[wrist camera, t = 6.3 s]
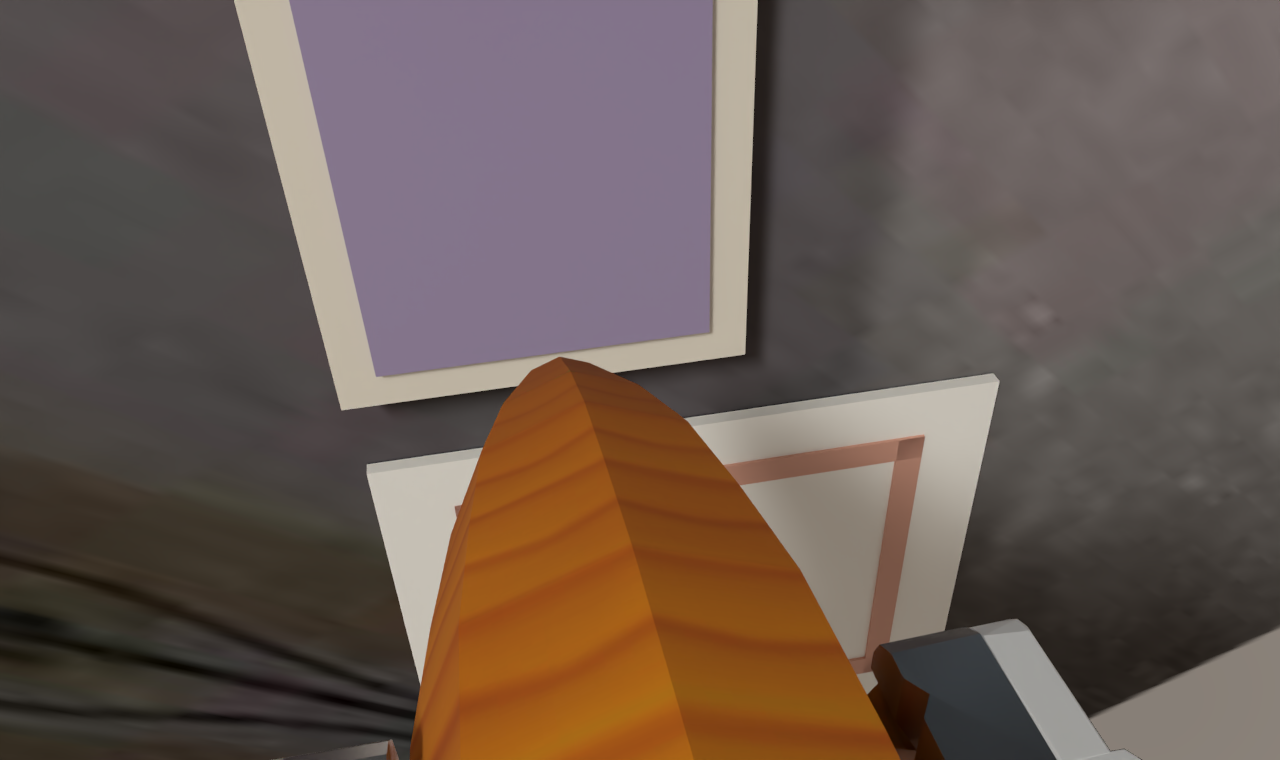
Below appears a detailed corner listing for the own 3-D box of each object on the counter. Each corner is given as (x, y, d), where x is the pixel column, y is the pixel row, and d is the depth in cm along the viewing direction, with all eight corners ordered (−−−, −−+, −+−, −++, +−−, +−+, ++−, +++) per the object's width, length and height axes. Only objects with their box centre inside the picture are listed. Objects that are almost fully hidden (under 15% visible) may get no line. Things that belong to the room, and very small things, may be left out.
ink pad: (742, -194, 20) (768, -182, 18) (729, 322, 27) (748, 360, 26) (208, -160, 18) (193, -143, 17) (344, 374, 26) (341, 416, 24)
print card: (993, 373, 30) (1001, 383, 29) (928, 676, 38) (933, 686, 38) (367, 464, 27) (366, 476, 27) (443, 765, 36) (443, 778, 35)
